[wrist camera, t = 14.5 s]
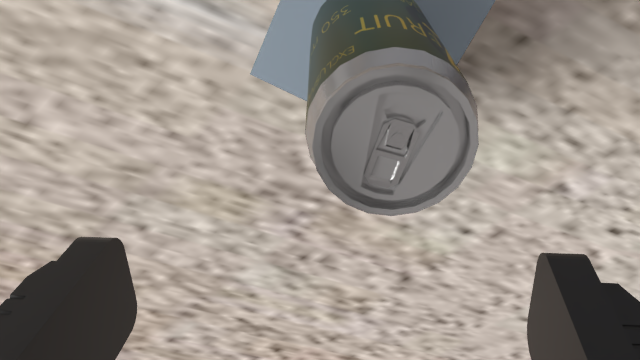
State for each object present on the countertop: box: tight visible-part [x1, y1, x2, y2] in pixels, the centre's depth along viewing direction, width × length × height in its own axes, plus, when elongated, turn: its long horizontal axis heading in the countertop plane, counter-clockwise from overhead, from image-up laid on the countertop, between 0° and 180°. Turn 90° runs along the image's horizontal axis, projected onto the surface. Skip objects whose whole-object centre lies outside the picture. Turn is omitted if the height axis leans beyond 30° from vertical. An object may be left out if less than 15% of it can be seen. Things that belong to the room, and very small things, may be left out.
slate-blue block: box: [250, 0, 495, 101], centre depth 30 cm, size 9×9×4 cm
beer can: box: [305, 0, 479, 216], centre depth 22 cm, size 5×5×12 cm
